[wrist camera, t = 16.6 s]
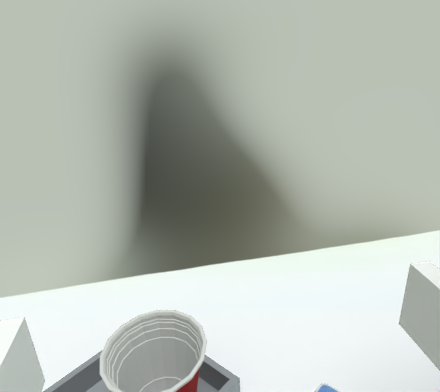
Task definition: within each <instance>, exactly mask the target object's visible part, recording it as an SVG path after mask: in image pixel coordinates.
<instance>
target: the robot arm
mask: <svg viewBox="0 0 440 392" xmlns="http://www.w3.org/2000/svg"><path fill="white" fill-rule="evenodd" d="M399 324H400V325H401V327H402V328H403V329H404V330H405V331H406V332H407V333H408V335H409V336H410V337H411V338H412V339H413V340H414V342H415V343H416V344H417V345H418V346H419V347H420V348H421V350H422V351H423V352H424V353H425V354H426V355H427V357H428V358H429V359H430V360H431V361H432V362H433V363H434V365H435V366H436V367H437V368H438V369H439V370H440V269H439V268H438V267H437V266H436V265H434V264H433V263H432V262H431V261H425V262H418V263H411V264H410V268H409V273H408V278H407V284H406V289H405V294H404V299H403V305H402V310H401V315H400V321H399ZM44 382H45V379H44V376H43V373H42V370H41V366H40V363H39V360H38V357H37V354H36V351H35V348H34V345H33V342H32V339H31V336H30V333H29V330H28V327H27V323H26V320H25V317H21V318H14V319H6V320H0V392H41V391H42V388H43V385H44Z"/></svg>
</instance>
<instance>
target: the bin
mask: <svg viewBox="0 0 440 392" xmlns="http://www.w3.org/2000/svg"><path fill="white" fill-rule="evenodd" d="M102 351H103V350H102ZM102 351H101V352H99V353H98V354H96V355H95V356H93V357H92V358H91V359H89V360H88V361H86V362H85V363H83V364H82V365H81V366H79V367H78V368H76V369H75V370H73V371H72V372H71V373H69V374H68V375H66V376H65V377H63V378H62V379H61V380H59V381H58V382H56V383H55V384H54V385H52V386H51V387H49V388H48V389H46V390H45V391H44V392H112V391H110V390H109V389H108V387H107V386H106V384H105V382H104V381H103V379H102V377H101V375H100V355H101V353H102ZM197 392H240V378H238V377H237V376H235V375H234V374H232V373H231V372H229V371H228V370H226V369H225V368H224V367H222V366H221V365H219V364H218V363H216V362H215V361H213V360H212V359H210V358H209V357H207V356H206V355H205V356H204V361H203V363H202V365H201V366H200V371H199V377H198V386H197Z"/></svg>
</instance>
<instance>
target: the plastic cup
mask: <svg viewBox="0 0 440 392" xmlns="http://www.w3.org/2000/svg"><path fill="white" fill-rule="evenodd" d="M206 344H207V340H206V337H205V334H204V331H203V328H202V326H201V325H200V324H199V323H198V322H197V321H196V320H195V319H194V318H193V317H192V316H190V315H187V314H184V313H181V312H179V311H176V310H156V311H153V312H149V313H145V314H142V315H139V316H137V317H135V318H133V319H132V320H130V321H128V322H126V323H125V324H123V325H121V326H120V328H119V329H118V330H117V331H116V332H115V333H114V334H113V335H112V336H111V337H110V338H109V339H108V340H107V342H106V344H105V347H104V349H103V351H102V353H101V355H100V375H101V377H102V379H103V381H104V382H105V384H106V386H107V387H108V389H109V390H110V391H112V392H197V386H198V377H199V371H200V366H201V365H202V363H203V361H204V356H205V350H206Z"/></svg>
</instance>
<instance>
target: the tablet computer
mask: <svg viewBox="0 0 440 392" xmlns="http://www.w3.org/2000/svg"><path fill="white" fill-rule="evenodd" d="M315 392H340V391H338V390H337V389H335V388H333V387H332V386H330V385H328V384H320V385H319V386H318V387H317V389H316V390H315Z"/></svg>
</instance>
